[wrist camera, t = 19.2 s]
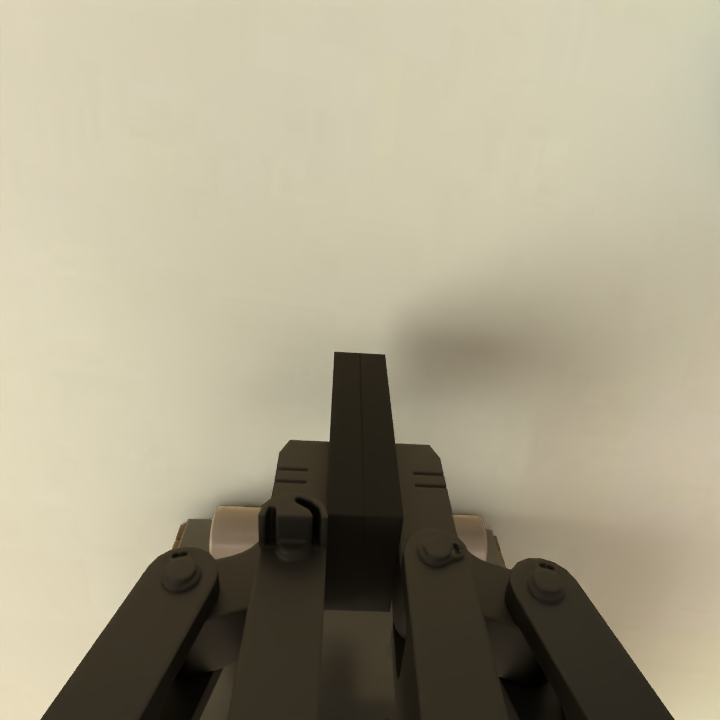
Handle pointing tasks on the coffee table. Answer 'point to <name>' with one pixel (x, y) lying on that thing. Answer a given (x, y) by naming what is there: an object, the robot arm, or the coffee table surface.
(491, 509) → the coffee table surface
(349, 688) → the drawer
